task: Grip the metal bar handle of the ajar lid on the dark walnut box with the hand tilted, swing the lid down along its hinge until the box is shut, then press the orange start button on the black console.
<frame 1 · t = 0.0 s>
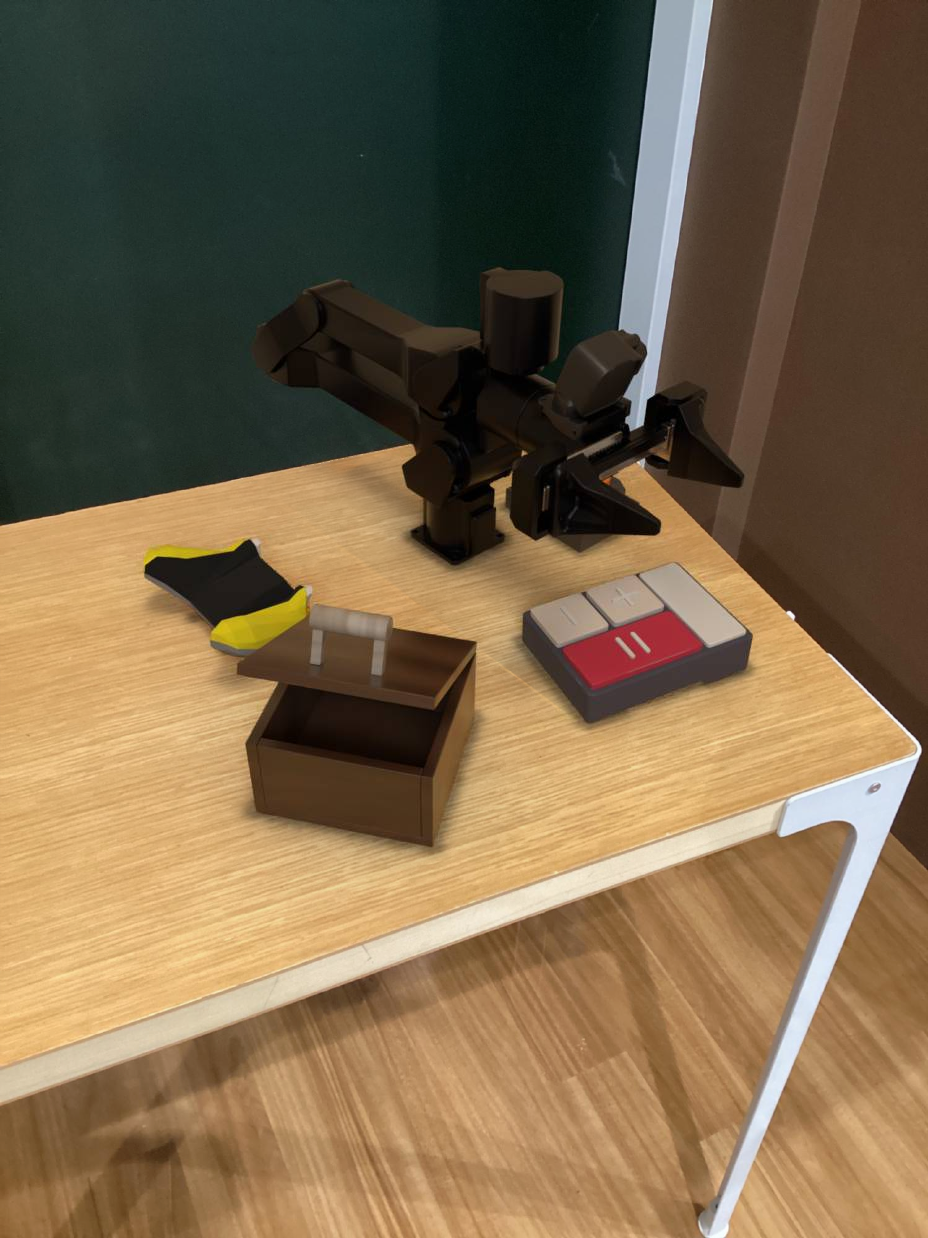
hand: (702, 504, 74), 17 cm above the table, tool horizontal, fingers open, 9 cm apart
start button: (590, 482, 99), point 5 cm above the table, slide at 0.2 cm
console: (570, 514, 103), on the table
calculator: (631, 656, 87), on the table
chest: (370, 763, 77), on the table
lid: (368, 629, 71), point 12 cm above the table, hinge at 25.0°
gaming controller: (237, 623, 90), on the table
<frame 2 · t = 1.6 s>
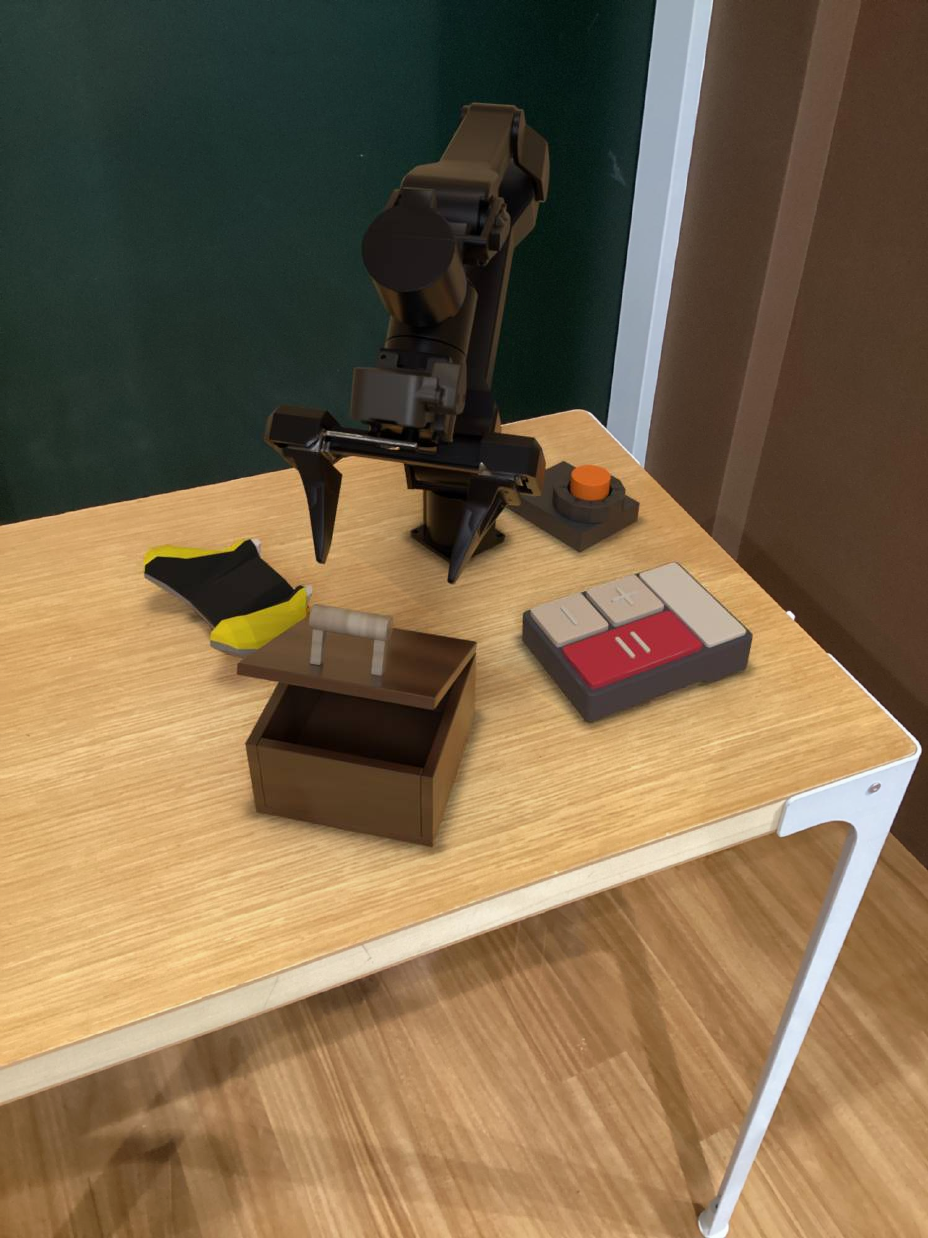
hand: (385, 573, 72), 14 cm above the table, tool tilted 45°, fingers open, 9 cm apart
nothing on the table moved.
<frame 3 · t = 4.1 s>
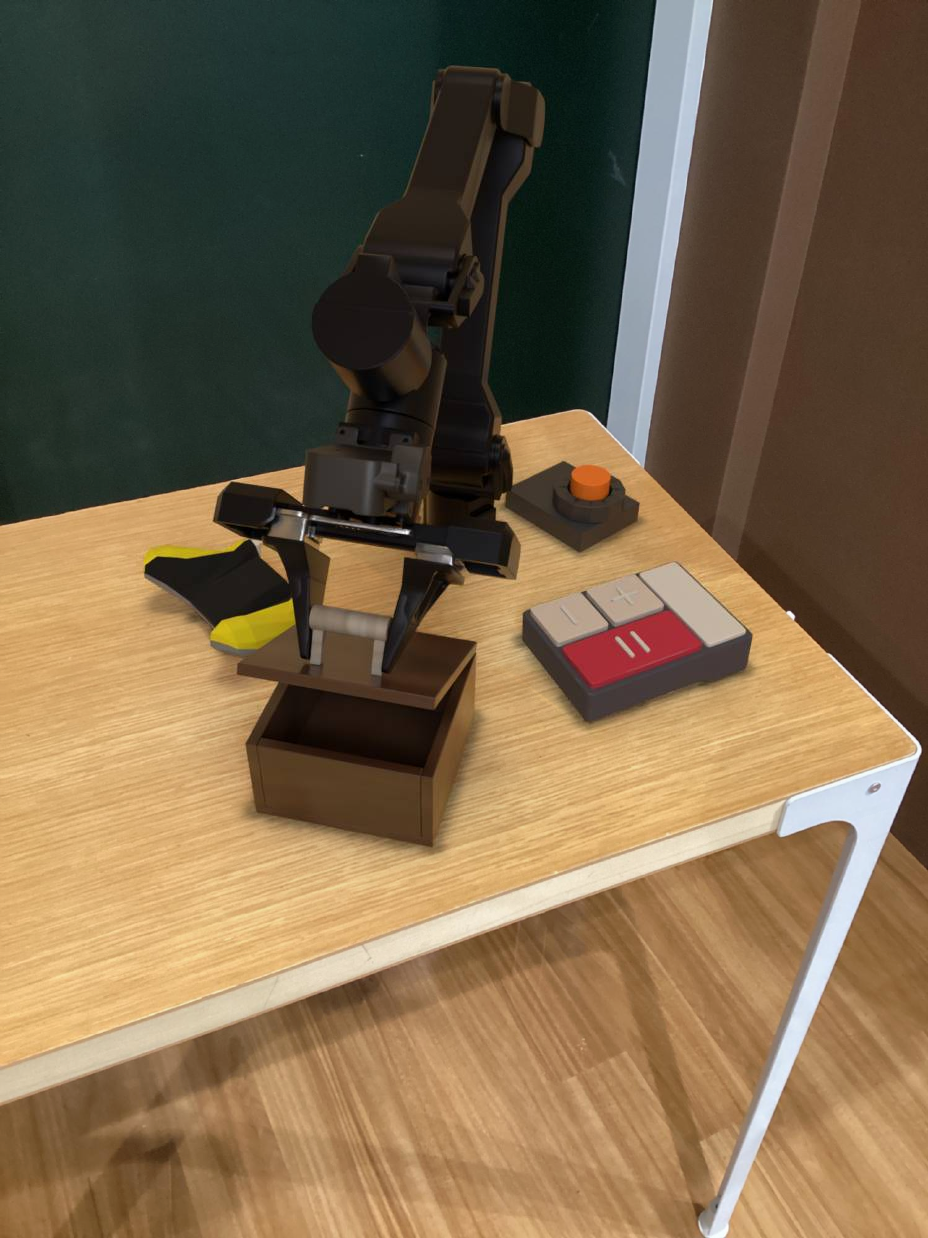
hand: (344, 666, 66), 13 cm above the table, tool tilted 45°, fingers closed on lid, 5 cm apart
lid: (368, 629, 71), point 12 cm above the table, hinge at 25.0°, touching gripper
everything else where it was.
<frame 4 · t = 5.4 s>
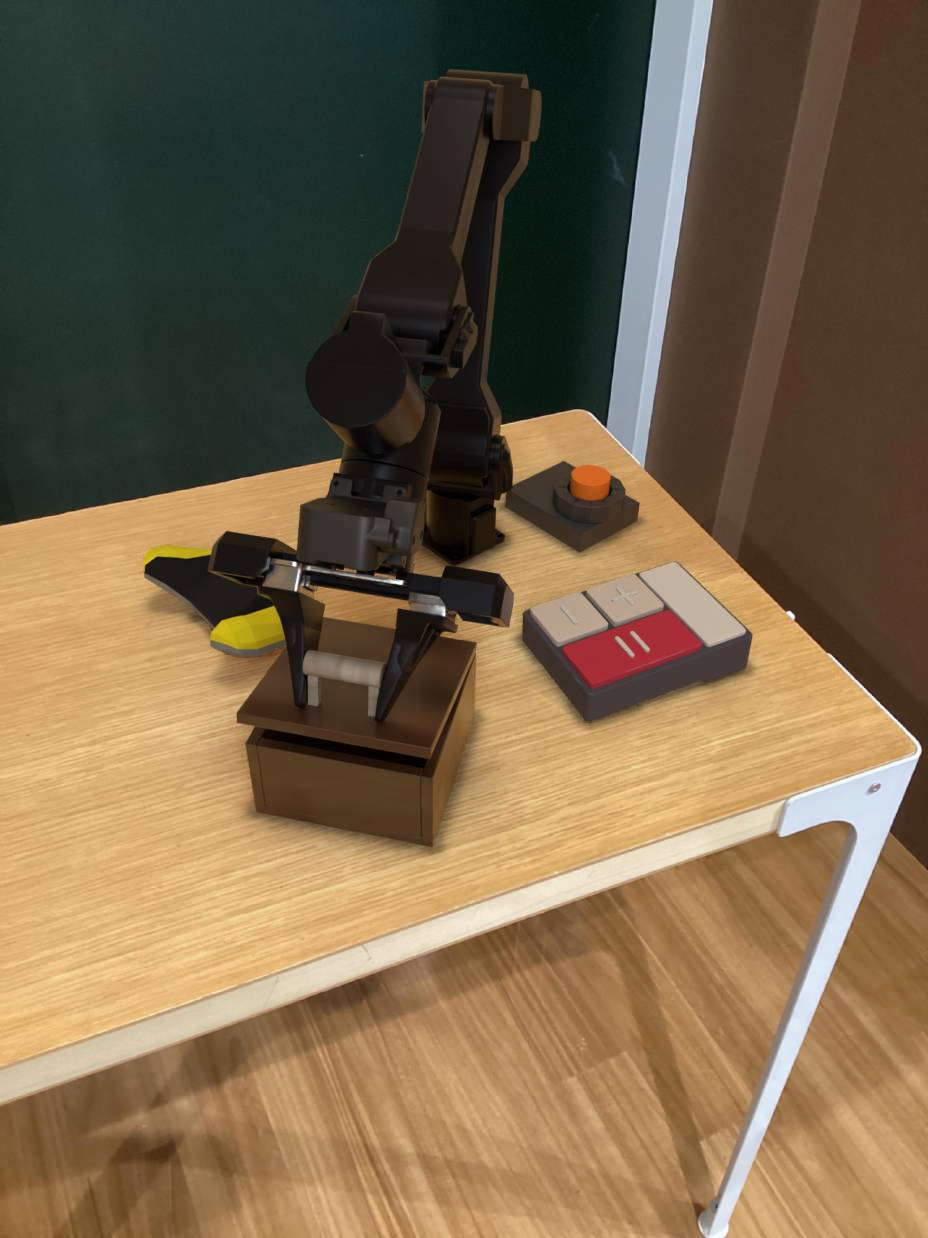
hand: (338, 714, 67), 10 cm above the table, tool tilted 45°, fingers closed on lid, 5 cm apart
lid: (364, 655, 71), point 10 cm above the table, hinge at 10.3°, touching gripper
everything else where it was.
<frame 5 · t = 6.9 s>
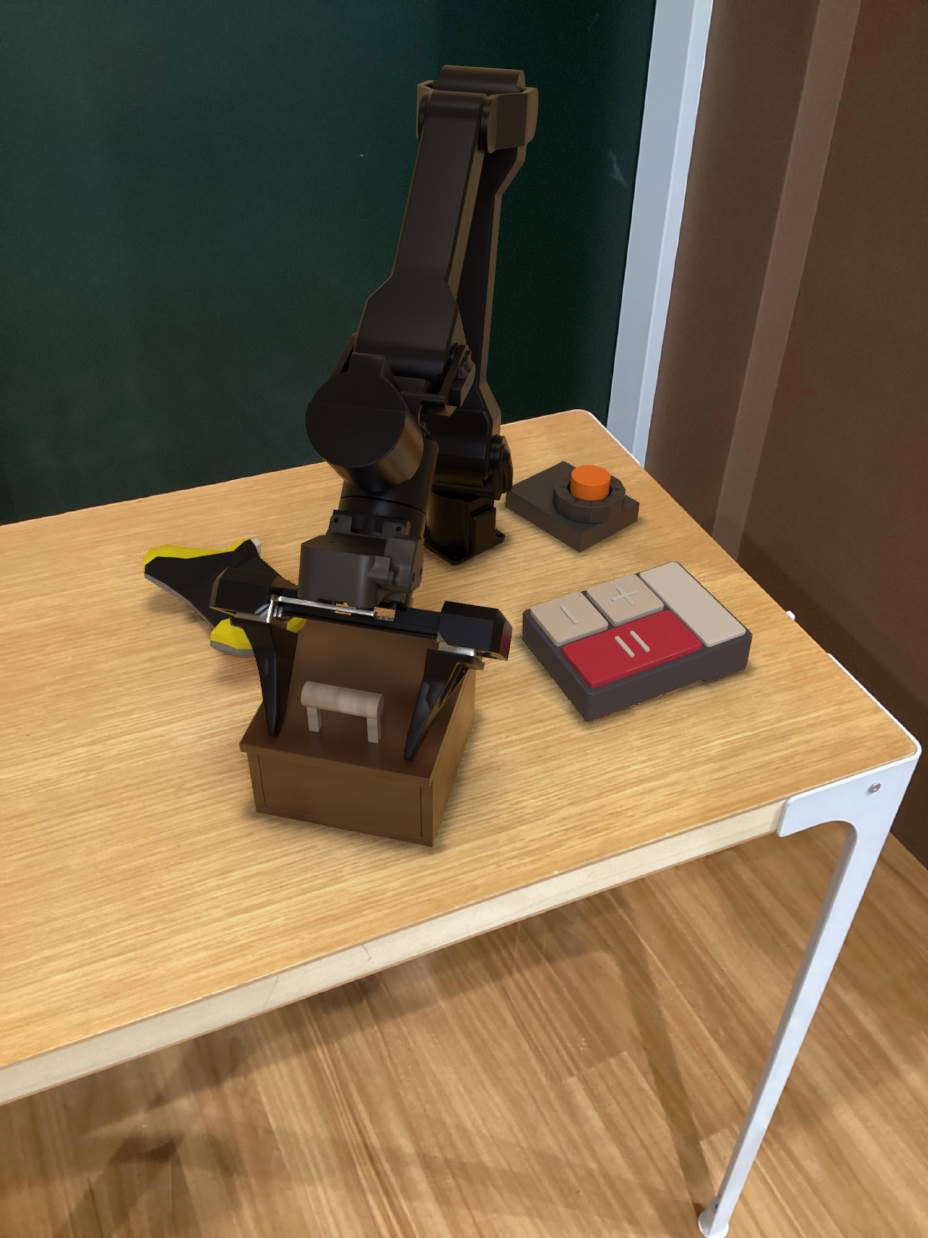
hand: (339, 748, 68), 8 cm above the table, tool tilted 45°, fingers open, 9 cm apart
lid: (363, 673, 71), point 9 cm above the table, hinge at -0.2°, touching chest, gripper
everything else where it was.
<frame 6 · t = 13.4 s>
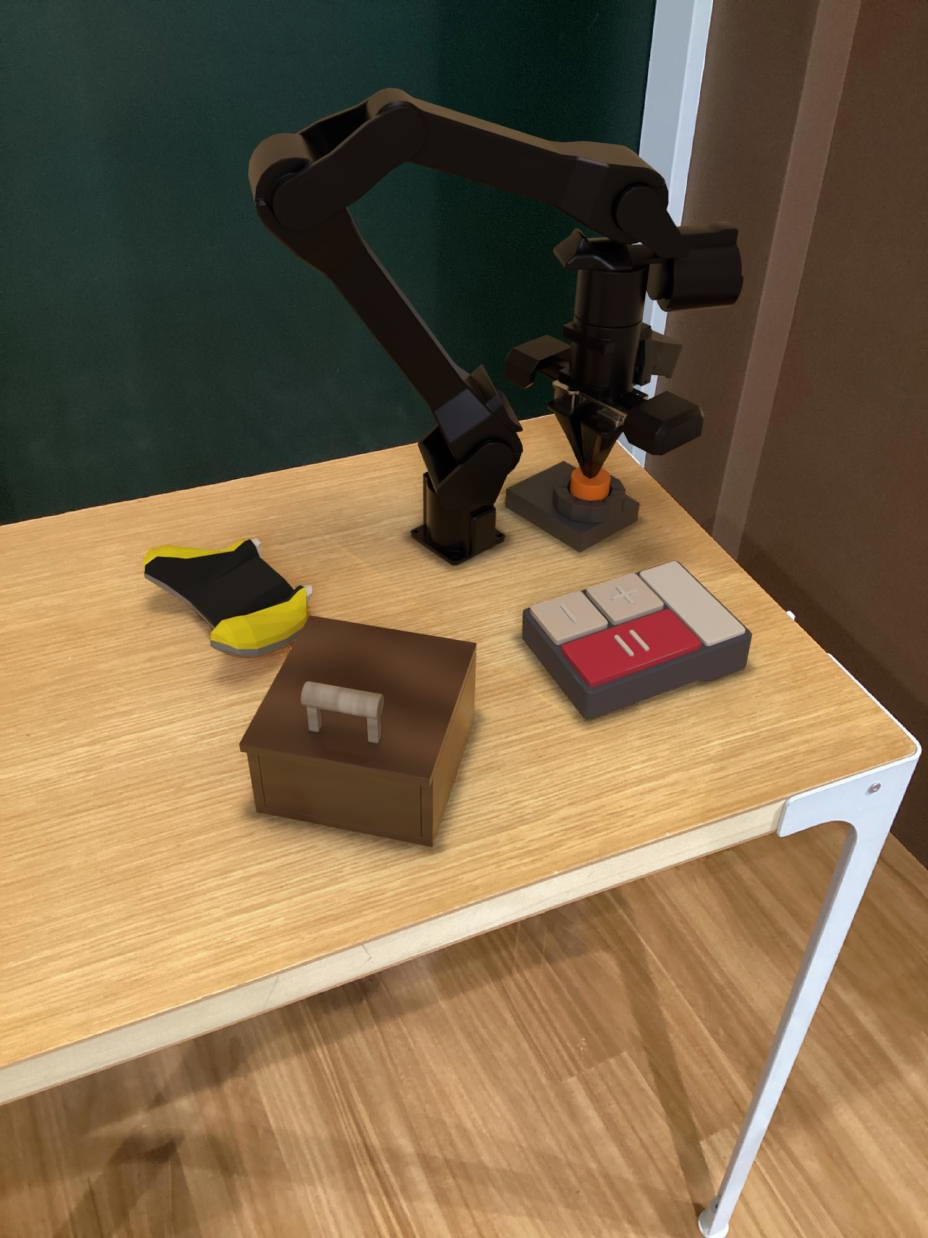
hand: (590, 475, 98), 5 cm above the table, tool pointing down, fingers closed, pressing on start button
start button: (590, 483, 99), point 4 cm above the table, slide at 0.1 cm, touching gripper
lid: (363, 673, 71), point 9 cm above the table, hinge at -0.2°, touching chest
everything else where it was.
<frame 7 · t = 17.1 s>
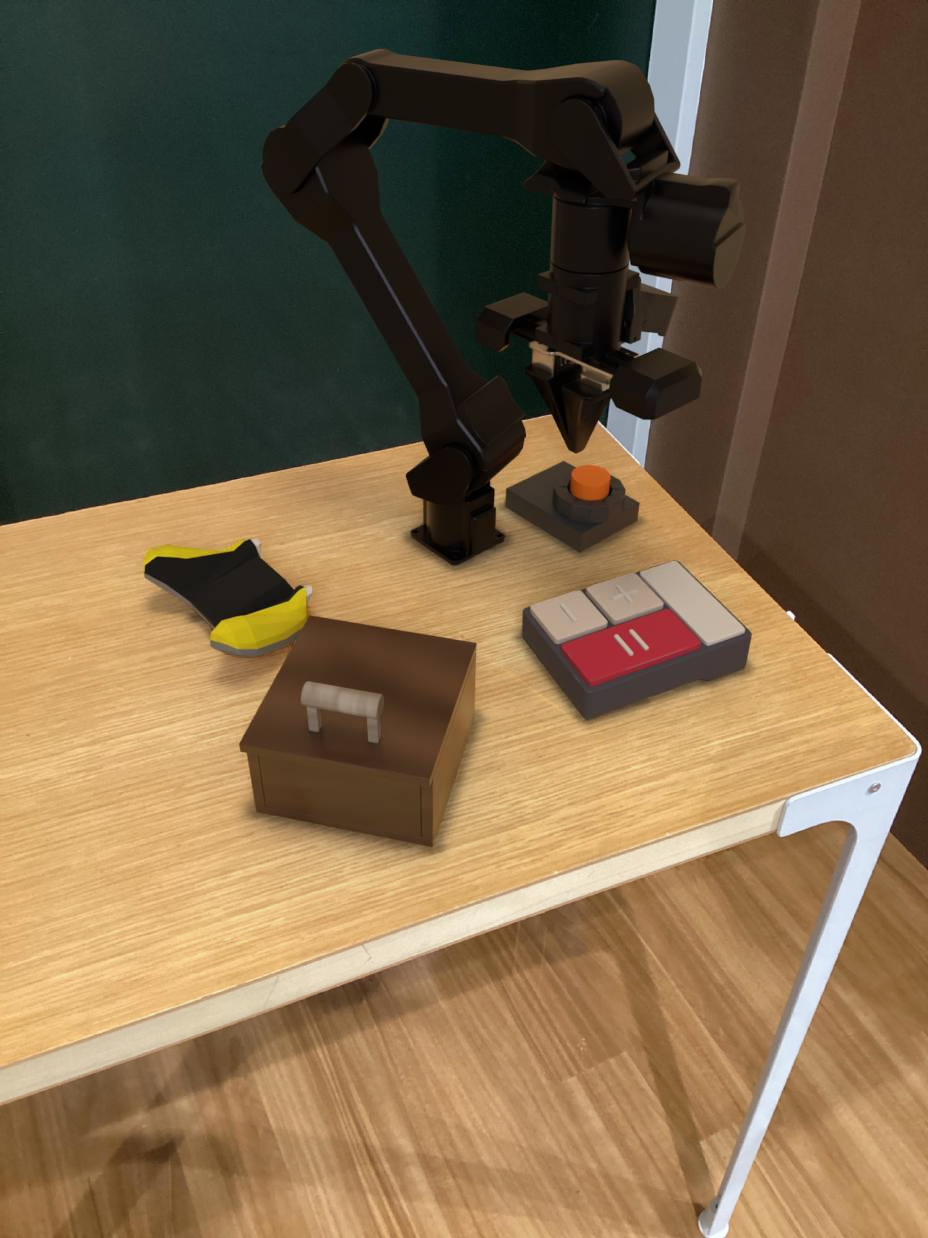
hand: (576, 450, 87), 13 cm above the table, tool pointing down, fingers closed
start button: (590, 482, 99), point 5 cm above the table, slide at 0.2 cm
everything else where it was.
at the end: lid at +0° (first picture: +25°); start button pushed in 1.1 cm at the most during the clip, back to 0.2 cm at the end; start button slide at 0.2 cm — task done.
